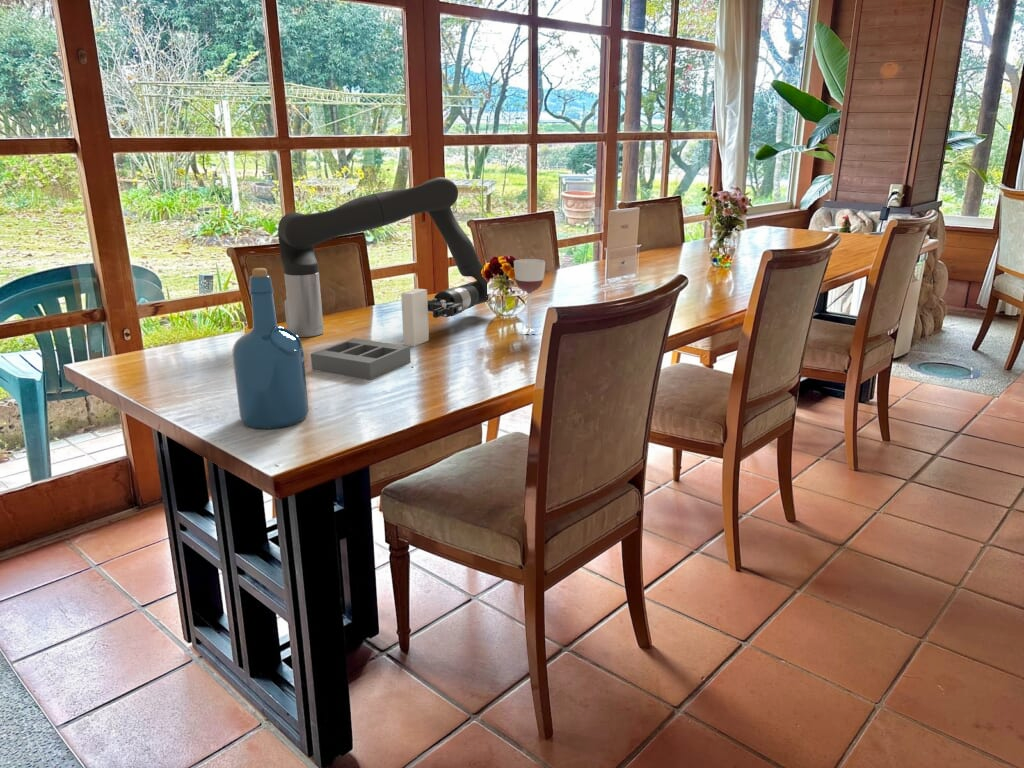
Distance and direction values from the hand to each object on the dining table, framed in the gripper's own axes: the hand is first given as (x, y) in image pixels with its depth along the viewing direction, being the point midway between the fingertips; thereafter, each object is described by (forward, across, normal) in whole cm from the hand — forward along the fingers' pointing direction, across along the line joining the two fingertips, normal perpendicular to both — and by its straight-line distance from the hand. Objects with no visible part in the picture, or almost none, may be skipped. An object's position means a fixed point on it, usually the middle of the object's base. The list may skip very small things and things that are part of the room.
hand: (420, 312), depth 209 cm
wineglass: (-21, +22, +8) cm, 32 cm away
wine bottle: (+64, +8, +8) cm, 65 cm away
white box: (+3, 0, +8) cm, 8 cm away
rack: (+27, 0, +8) cm, 28 cm away
